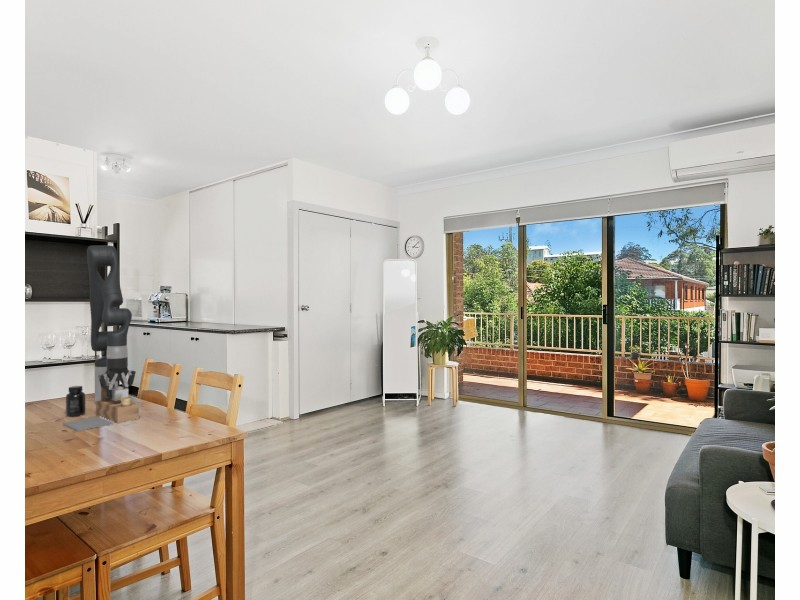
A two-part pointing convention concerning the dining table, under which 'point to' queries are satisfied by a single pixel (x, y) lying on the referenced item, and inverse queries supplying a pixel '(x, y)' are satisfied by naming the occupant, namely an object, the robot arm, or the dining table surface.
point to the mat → (87, 423)
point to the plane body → (116, 408)
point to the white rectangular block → (119, 393)
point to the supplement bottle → (75, 402)
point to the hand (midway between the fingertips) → (117, 397)
